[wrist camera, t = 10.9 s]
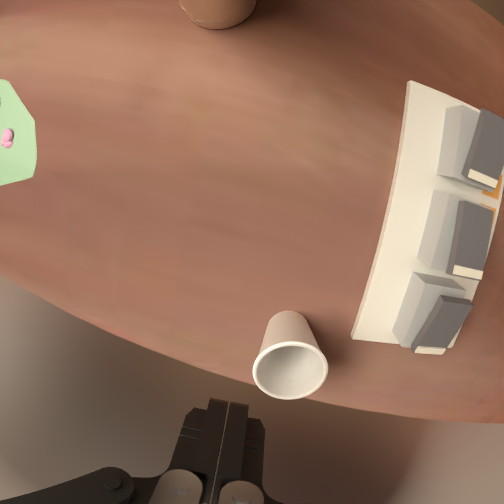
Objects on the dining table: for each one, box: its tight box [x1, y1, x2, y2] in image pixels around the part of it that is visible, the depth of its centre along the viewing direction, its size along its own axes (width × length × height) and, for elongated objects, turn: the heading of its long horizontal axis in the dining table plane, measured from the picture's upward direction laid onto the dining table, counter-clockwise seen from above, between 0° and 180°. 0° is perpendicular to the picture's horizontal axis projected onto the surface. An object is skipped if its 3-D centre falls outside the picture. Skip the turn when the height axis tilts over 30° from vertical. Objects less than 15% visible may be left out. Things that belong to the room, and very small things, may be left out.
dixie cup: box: [253, 311, 328, 399], centre depth 37 cm, size 8×8×10 cm
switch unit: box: [351, 80, 504, 348], centre depth 34 cm, size 35×18×6 cm, turn 170°
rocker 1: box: [411, 295, 474, 355], centre depth 33 cm, size 8×5×2 cm, turn 170°
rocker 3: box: [446, 200, 494, 281], centre depth 29 cm, size 8×5×2 cm, turn 171°
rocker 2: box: [461, 108, 504, 189], centre depth 26 cm, size 8×5×2 cm, turn 169°
